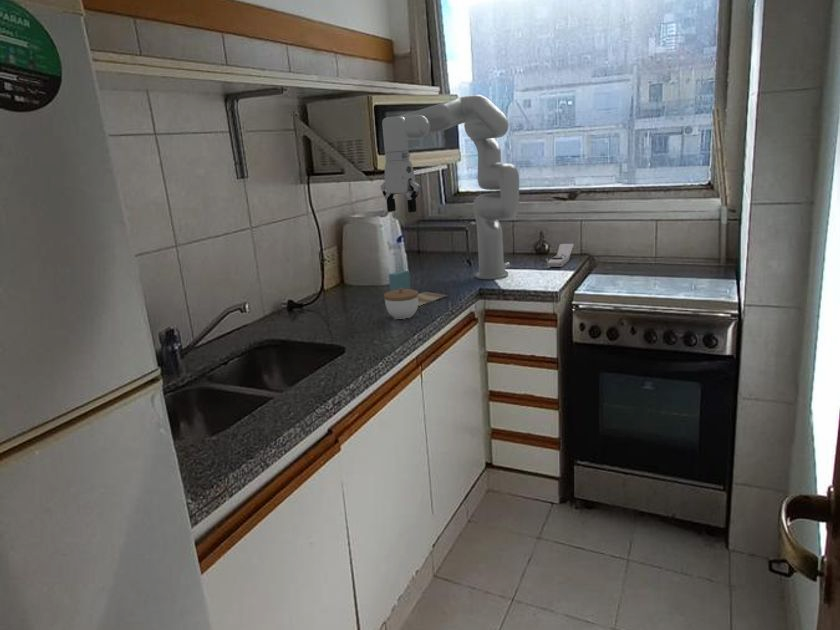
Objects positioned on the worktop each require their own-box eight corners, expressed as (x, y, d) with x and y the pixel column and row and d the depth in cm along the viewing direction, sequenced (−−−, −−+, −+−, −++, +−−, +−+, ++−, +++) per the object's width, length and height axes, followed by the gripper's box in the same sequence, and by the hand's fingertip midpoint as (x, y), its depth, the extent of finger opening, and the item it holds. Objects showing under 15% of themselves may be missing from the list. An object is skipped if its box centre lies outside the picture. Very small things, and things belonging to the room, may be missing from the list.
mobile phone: (574, 243, 259) (560, 254, 237) (574, 257, 260) (560, 269, 239) (560, 243, 262) (544, 254, 240) (560, 257, 263) (545, 269, 242)
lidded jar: (426, 313, 194) (424, 285, 191) (407, 323, 185) (405, 293, 183) (398, 310, 200) (396, 283, 197) (379, 320, 191) (376, 291, 189)
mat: (424, 293, 219) (424, 291, 219) (447, 297, 212) (447, 295, 212) (392, 304, 209) (392, 302, 208) (415, 308, 201) (415, 306, 201)
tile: (391, 299, 215) (388, 274, 213) (405, 294, 220) (403, 270, 218) (397, 300, 213) (394, 275, 211) (411, 295, 218) (408, 271, 216)
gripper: (424, 155, 190) (429, 210, 195) (387, 157, 202) (392, 209, 207) (407, 157, 185) (412, 214, 190) (370, 159, 197) (375, 212, 202)
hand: (401, 211), depth 198 cm, fingers open, 9 cm apart
